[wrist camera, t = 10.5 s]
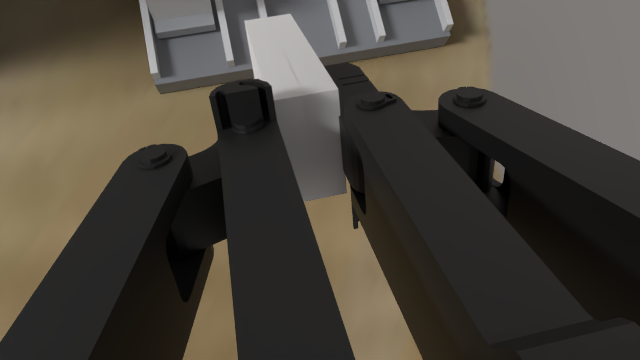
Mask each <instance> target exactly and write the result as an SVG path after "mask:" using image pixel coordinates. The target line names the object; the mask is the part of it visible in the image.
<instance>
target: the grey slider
mask: <svg viewBox="0 0 640 360" xmlns="http://www.w3.org/2000/svg"><path fill="white" fill-rule="evenodd" d="M145 2H146V4H147V6H148V9H149V11H150V13H151V15H152V17H153V19H154V23H155V30H156V34H157V36H158V38H159V39H162V38H168V37H174V36H181V35H187V34H194V33H200V32H207V31H213V30H216V26H215V21H214V16H213V11H212V6H211V0H145Z"/></svg>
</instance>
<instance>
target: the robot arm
mask: <svg viewBox="0 0 640 360" xmlns="http://www.w3.org/2000/svg"><path fill="white" fill-rule="evenodd" d="M244 22H245V28H246V33H247V39H248V45H249V50H250V56H251V62H252V67H253V73H254V78H255V79H246V80H237V81H233V82H229V83H226V84H223V85H221V86H219V87H217V88H216V89H214V90H213V91H212V92H211V93H210V96H209V99H210V103H211V107H212V111H213V116H214V120H215V124H216V128H217V134H218V141H217V142H216V143H215V144H213V145H212V146H211V147H209V148H208V149H206V150H204V151H202V152H199V153H197V154H194V155H192V156H189V157H188V155H187V151H186V150H185V149H184V148H183V147H181V146H178V145H175V144H160V145H155V144H154V145H150V146H148V147H147V148H146V147H144V148H141V149H139V150H138V151H137V152H135V153H133V154H131V155H129V156H128V157H127V158H126V159H125V160H124V161H123V162H122V164H121V165H120V167H119V168H118V170H117V171H116V173H115V174H114V176H113V177H112V179H111V180H110V182H109V183H108V184H107V186H106V187H105V189H104V190H103V192H102V193H101V195H100V196H99V198H98V199H97V201H96V202H95V204H94V205H93V207H92V208H91V210H90V211H89V212H88V214H87V215H86V217H85V218H84V220H83V221H82V223H81V224H80V226H79V227H78V229H77V230H76V232H75V233H74V235H73V236H72V237H71V239H70V240H69V242H68V243H67V245H66V246H65V248H64V249H63V251H62V252H61V254H60V255H59V257H58V258H57V260H56V261H55V263H54V264H53V265H52V267H51V268H50V270H49V271H48V273H47V274H46V276H45V277H44V279H43V280H42V282H41V283H40V285H39V286H38V288H37V289H36V290H35V292H34V293H33V295H32V296H31V298H30V299H29V301H28V302H27V304H26V305H25V307H24V308H23V310H22V311H21V313H20V314H19V316H18V317H17V318H16V320H15V321H14V323H13V324H12V326H11V327H10V329H9V330H8V332H7V333H6V335H5V336H4V338H3V339H2V341H1V342H0V360H182V359H183V356H184V353H185V349H186V346H187V343H188V339H189V336H190V333H191V329H192V326H193V323H194V319H195V316H196V313H197V309H198V306H199V303H200V300H201V296H202V293H203V290H204V286H205V283H206V280H207V276H208V273H209V270H210V266H211V263H212V260H213V256H214V248H213V244H215V243H218V242H220V241H222V240H225V239H227V243H228V254H229V265H230V276H231V287H232V297H233V308H234V319H235V330H236V341H237V352H238V360H355V357H354V354H353V351H352V348H351V345H350V342H349V339H348V336H347V333H346V330H345V327H344V324H343V321H342V318H341V315H340V311H339V308H338V305H337V302H336V299H335V296H334V293H333V290H332V287H331V284H330V281H329V278H328V275H327V272H326V269H325V266H324V263H323V260H322V257H321V253H320V250H319V247H318V244H317V241H316V238H315V235H314V232H313V229H312V226H311V223H310V220H309V217H308V214H307V211H306V208H305V205H304V201H309V200H314V199H319V198H324V197H329V196H334V195H339V194H344V193H347V189H346V177H347V179H348V181H349V183H350V188H351V201H352V214H353V226H354V229H356V228H358V221H359V220H360V222H361V225H362V227H363V229H364V231H365V233H366V236H367V238H368V240H369V242H370V244H371V247H372V249H373V251H374V253H375V255H376V258H377V260H378V262H379V264H380V266H381V268H382V271H383V273H384V275H385V277H386V279H387V282H388V284H389V286H390V288H391V290H392V293H393V295H394V297H395V299H396V301H397V304H398V306H399V308H400V310H401V312H402V314H403V317H404V319H405V321H406V323H407V325H408V328H409V330H410V332H411V334H412V336H413V339H414V341H415V343H416V345H417V347H418V349H419V352H420V354H421V356H422V358H423V360H640V161H639V160H637V159H635V158H633V157H630V156H628V155H626V154H624V153H622V152H620V151H618V150H615V149H613V148H611V147H609V146H607V145H605V144H602V143H601V142H598V141H596V140H594V139H592V138H590V137H588V136H585V135H583V134H581V133H579V132H577V131H575V130H573V129H571V128H569V127H566V126H564V125H562V124H560V123H558V122H556V121H553V120H551V119H549V118H547V117H545V116H543V115H541V114H539V113H536V112H534V111H532V110H530V109H528V108H526V107H524V106H522V105H519V104H517V103H515V102H513V101H511V100H509V99H507V98H504V97H502V96H500V95H498V94H496V93H494V92H491V91H488V90H485V89H479V88H475V87H467V88H466V87H459V88H458V89H454V90H450V91H447V92H445V93H443V94H442V95H441V96H440V97H439V100H438V110H425V111H417V110H411V109H410V108H409V107H408V106H407V105H406V104H405V102H404V101H403V100H402V99H401V98H400V97H398V96H397V95H395V94H392V93H388V92H379V91H378V90H377V89H376V88H375V86H374V85H373V84H372V83H371V81H369V79H368V78H367V76H366V75H365V74H364V73H363V71H362V70H361V69H360V68H359V67H358V66H355V65H353V64H350V63H348V62H345V63H339V64H333V65H327V66H323V64H322V63H321V61H320V60H319V58H318V56H317V55H316V53H315V52H314V50H313V49H312V47H311V45H310V44H309V42H308V41H307V39H306V38H305V36H304V34H303V33H302V31H301V30H300V28H299V27H298V25H297V23H296V22H295V20H294V19H293V17H292V16H291V14H285V15H278V16H272V17H265V18H259V19H252V20H246V21H244ZM495 160H496V161H497V162H499V163H500V164H501V165H502V166H504V167H505V172H504V180H503V183H500V182H498V181H496V180H495V179H493V172H494V163H495ZM345 175H346V177H345Z"/></svg>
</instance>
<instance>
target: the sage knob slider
mask: <svg viewBox="0 0 640 360" xmlns="http://www.w3.org/2000/svg"><path fill="white" fill-rule="evenodd" d="M399 1H405V0H378V2H379V5H380V4H386V3H392V2H399Z"/></svg>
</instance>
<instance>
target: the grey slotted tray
mask: <svg viewBox="0 0 640 360" xmlns="http://www.w3.org/2000/svg"><path fill="white" fill-rule="evenodd" d="M139 3H140V10H141V16H142V22H143V28H144V35H145V41H146V47H147V53H148V59H149V66H150V72H151V75H152V77H153V78H154V81H155V86H156V87H157V89H158V91H159V92H160V94H163V93H169V92H175V91H181V90H186V89H192V88H198V87H204V86H210V85H216V84H222V83H228V82H233V81H237V80H246V79H251V78H254V73H253V67H252V62H251V56H250V50H249V45H248V39H247V33H246V28H245V22H244V21H246V20H252V19H259V18H265V17H272V16H278V15H285V14H291V16H292V17H293V19H294V20H295V22H296V23H297V25H298V27H299V28H300V30H301V31H302V33H303V34H304V36H305V38H306V39H307V41H308V42H309V44H310V45H311V47H312V49H313V50H314V52H315V53H316V55H317V56H318V58H319V60H320V61H321V63H322V64H323V66H327V65H333V64H339V63H345V62H352V61H358V60H364V59H370V58H376V57H381V56H387V55H393V54H399V53H405V52H411V51H417V50H423V49H429V48H435V47H441V46H444V45H445V44H446V42H447V41H448V39H449V38H450V36H451V34H450V29H451V28H452V26H453V24H454V23H453V20H452V16H451V13H450V10H449V6H448V3H447V0H405V1H399V2H392V3H386V4H380V5H379V2H378V0H211V6H212V11H213V16H214V21H215V26H216V30H213V31H207V32H200V33H194V34H187V35H181V36H174V37H168V38H162V39H159V38H158V36H157V34H156V30H155V23H154V19H153V17H152V15H151V13H150V11H149V9H148V6H147V4H146V2H145V0H139Z"/></svg>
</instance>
